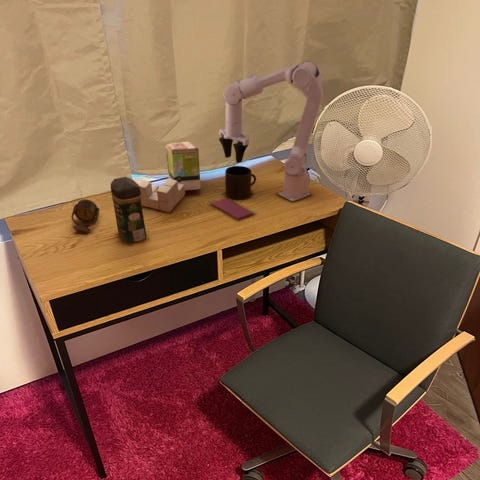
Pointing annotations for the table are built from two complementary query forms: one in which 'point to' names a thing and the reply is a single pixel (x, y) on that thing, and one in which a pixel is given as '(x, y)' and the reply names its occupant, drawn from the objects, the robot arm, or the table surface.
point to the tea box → (184, 164)
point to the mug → (238, 182)
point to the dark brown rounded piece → (85, 215)
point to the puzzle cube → (161, 194)
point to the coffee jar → (128, 209)
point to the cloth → (232, 209)
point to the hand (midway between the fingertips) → (233, 159)
